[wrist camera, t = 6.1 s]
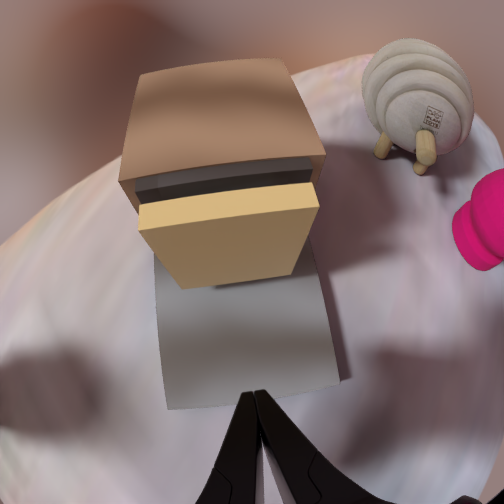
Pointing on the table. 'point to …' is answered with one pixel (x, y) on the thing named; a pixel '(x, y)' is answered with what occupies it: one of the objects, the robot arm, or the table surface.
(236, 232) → the tan drawer
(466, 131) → the toy sheep
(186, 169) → the wooden drawer box
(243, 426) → the robot arm
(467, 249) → the pepper mill
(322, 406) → the table surface
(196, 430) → the table surface
